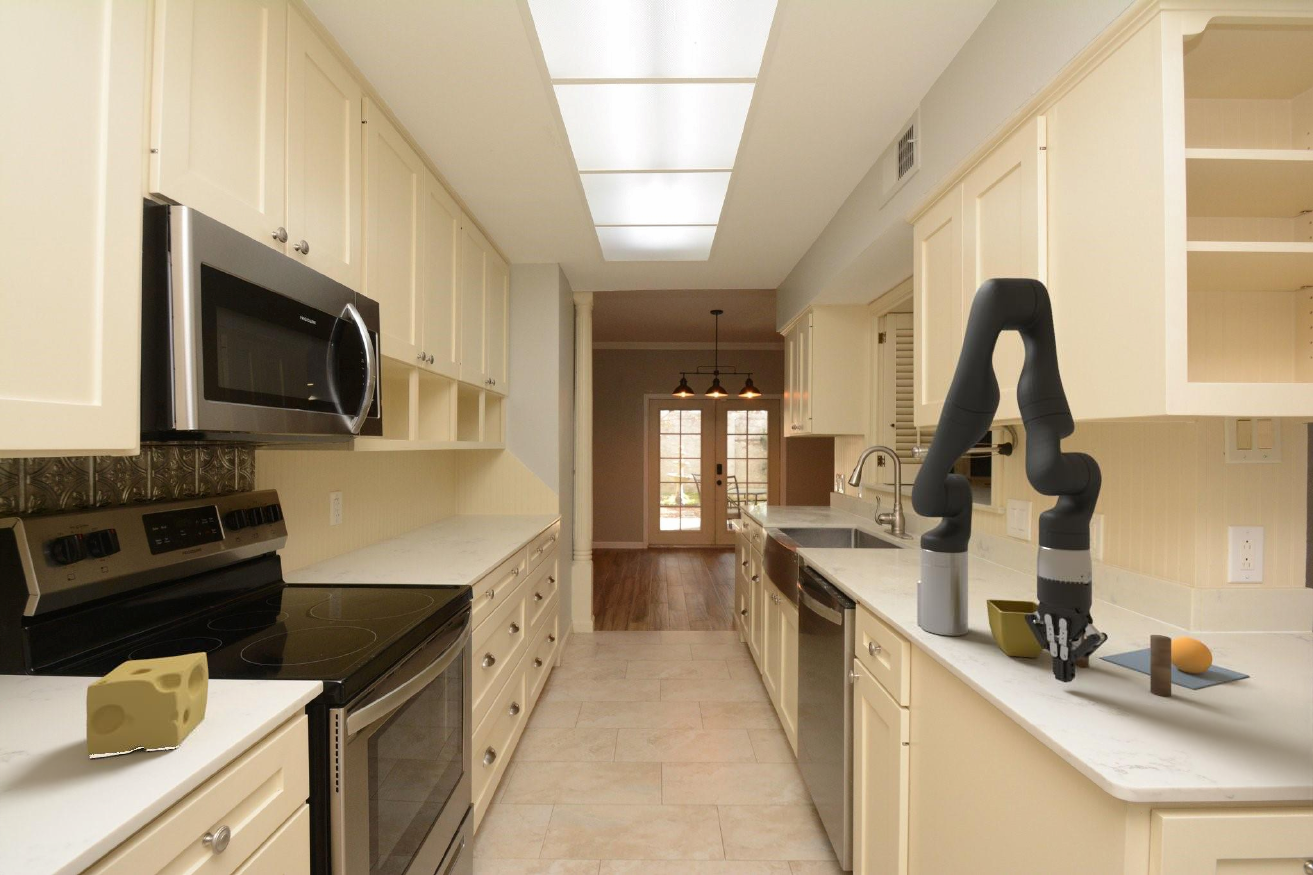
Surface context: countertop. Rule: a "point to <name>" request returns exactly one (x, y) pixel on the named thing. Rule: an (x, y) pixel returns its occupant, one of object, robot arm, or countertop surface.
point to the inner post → (1083, 662)
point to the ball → (1190, 655)
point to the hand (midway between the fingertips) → (1064, 680)
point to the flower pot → (1013, 627)
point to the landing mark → (1175, 670)
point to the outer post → (1160, 665)
